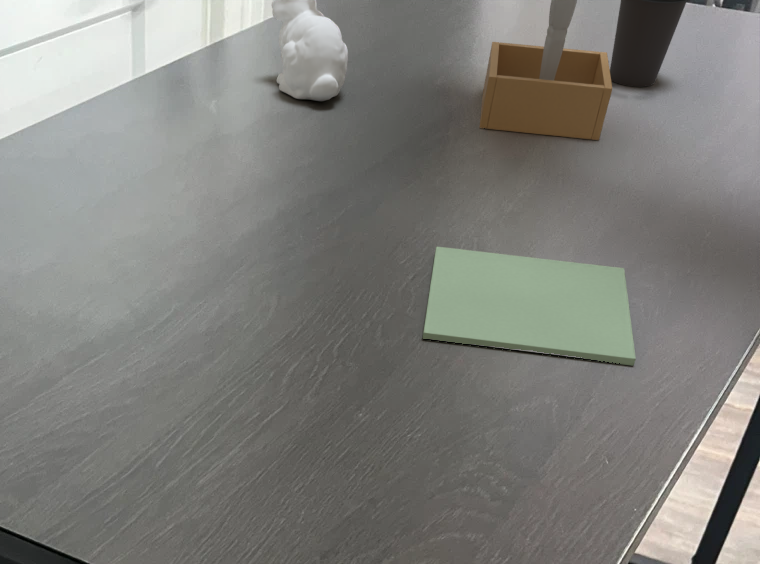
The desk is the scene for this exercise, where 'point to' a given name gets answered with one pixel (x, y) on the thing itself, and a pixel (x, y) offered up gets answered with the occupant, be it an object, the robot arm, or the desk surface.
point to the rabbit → (309, 51)
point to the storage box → (546, 92)
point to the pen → (556, 36)
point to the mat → (530, 305)
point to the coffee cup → (643, 39)
